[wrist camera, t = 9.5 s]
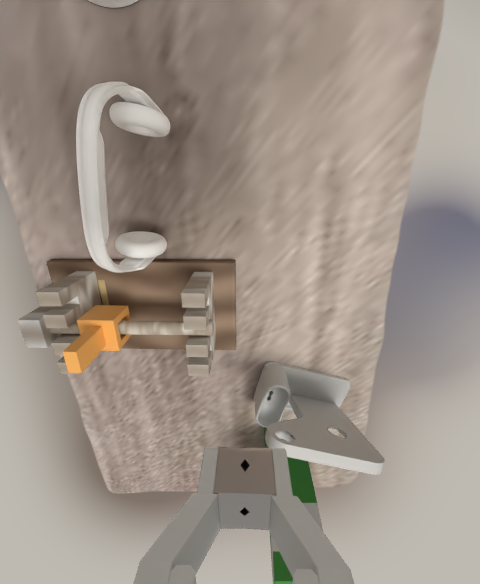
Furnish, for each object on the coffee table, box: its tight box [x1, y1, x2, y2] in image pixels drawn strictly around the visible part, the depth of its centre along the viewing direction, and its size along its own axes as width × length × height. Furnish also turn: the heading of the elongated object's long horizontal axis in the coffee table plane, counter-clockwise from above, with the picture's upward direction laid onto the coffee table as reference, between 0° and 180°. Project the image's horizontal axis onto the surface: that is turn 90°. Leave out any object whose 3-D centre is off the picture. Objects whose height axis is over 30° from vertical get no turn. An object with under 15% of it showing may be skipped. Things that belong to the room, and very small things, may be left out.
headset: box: [76, 82, 170, 273], centre depth 31 cm, size 20×7×18 cm, turn 172°
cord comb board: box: [17, 259, 236, 376], centre depth 42 cm, size 16×30×10 cm, turn 90°
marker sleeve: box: [63, 305, 132, 373], centre depth 37 cm, size 5×5×11 cm
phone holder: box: [254, 361, 384, 475], centre depth 44 cm, size 17×10×18 cm, turn 76°
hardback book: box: [264, 427, 323, 584], centre depth 48 cm, size 18×7×24 cm, turn 4°
